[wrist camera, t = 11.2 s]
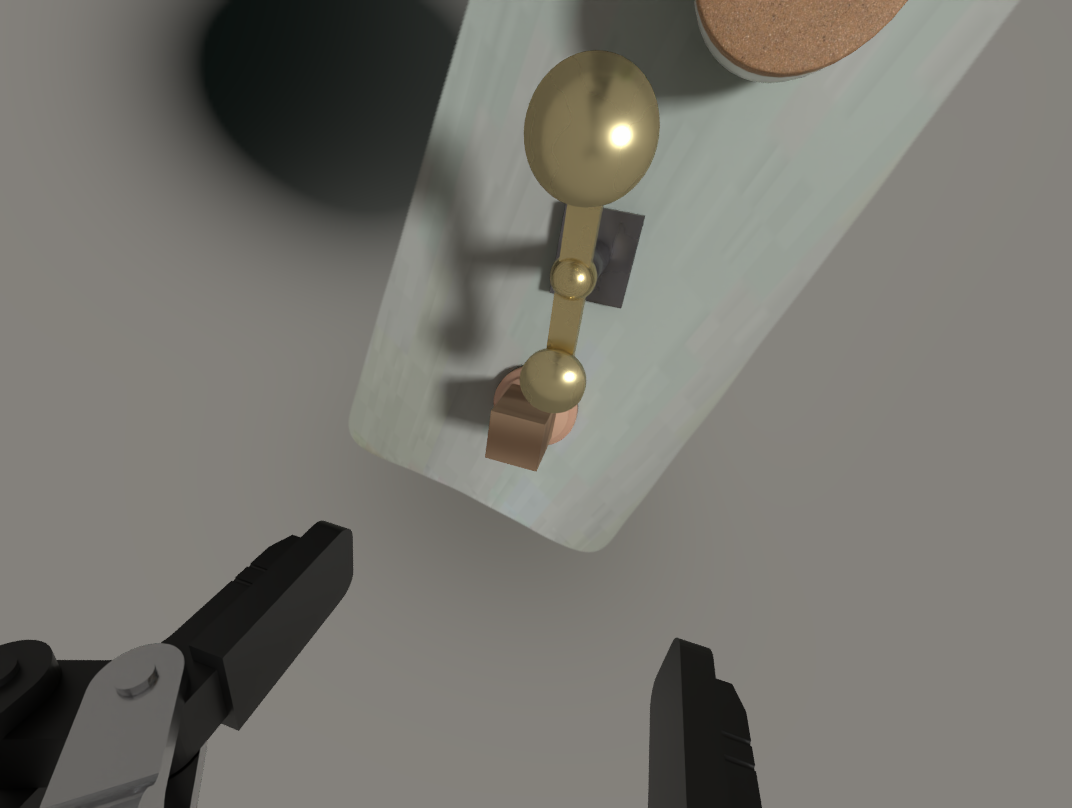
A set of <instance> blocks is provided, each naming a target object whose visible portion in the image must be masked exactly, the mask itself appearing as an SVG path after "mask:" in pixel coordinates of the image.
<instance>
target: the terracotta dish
mask: <svg viewBox="0 0 1072 808" xmlns="http://www.w3.org/2000/svg"><path fill="white" fill-rule="evenodd" d="M522 367H523V366H522ZM522 367H519V368H516V369H514V370H513V371H511V372H510V373H508V374H507V375H506V376H505V377H504V379H503V380H502V381H501V382H500V384H499V385H498V387H497V389H496V392H495V395H494V406H495V405H496V404H497V402H498V401H499V400H500V399H501V397H502V396H503V395H504V393H505V392H506V391H507V390H508V388H509V387H510V386H511V384H512V383H513V384H517V385H520V373H521V370H522ZM577 413H578V404H577V405H576V406H575V407H573V408H572V409H570V410H568V411H566V412H562V413H556V417H555V422H554V427H553V432H552V437H551V440H550V442H549V444H548V445H550V444H554V443H556V442H558V441H560V440H562V439H563V438H564V437H565V436H566V435H567V434H568V433H569V432H570V431H571V429H572V427H573V425H574V423H575V420H576V417H577Z"/></svg>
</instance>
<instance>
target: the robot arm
mask: <svg viewBox="0 0 1072 808" xmlns="http://www.w3.org/2000/svg"><path fill="white" fill-rule="evenodd" d="M352 577H353V536H352V531H351V530H350V529H347V528H344V527H341V526H338V525H335V524H332V523H329V522H326V521H319V522H317V523H316V524H314V525H313V526H312V527H311V528H310V529H309V530H308V531H307V532H306V533H305V534H304V535H303V536H302V537H297V536H294V535H291V536H289V537H287V538H286V539H284V540H281V541H279V542H277V543H275V544H273V545H272V546H270V547H268V548H267V549H266V550H265V551H264V552H263V553H262V554H261V555H259V556H258V557H257V558H256V559H255V560H254V561H253V562H252V563H251V565H250V566H249V567H246V568H245V569H244V570H243V571H242V572H241V573H240V574H238V575H237V576H236V578H235V580H234V581H231V582H230V583H228V584H227V585H226V586H225V587H224V588H223V589H222V590H221V591H220V592H219V593H217V595H215V596H214V597H213V598H212V599H211V600H210V601H209V602H207V603H206V604H205V606H203V607H202V608H201V609H200V610H199V611H198V612H196V613H195V614H194V615H193V616H192V617H191V618H190V619H189V620H188V621H186V622H185V623H184V624H183V625H182V626H181V627H180V628H179V629H178V630H177V631H175V633H173V634H172V635H171V636H170V637H168V638H167V639H166V640H164V641H163V642H161V643H155V644H148V645H144V646H140V647H137V648H134V649H132V650H130V651H128V652H125V653H123V654H122V655H120V656H118V657H117V658H115V659H114V660H105V661H104V660H102V661H101V660H56V658H55V656H54V654H53V652H52V650H51V648H50V646H49V645H47V644H46V643H44V642H42V641H37V640H21V641H16V642H11V643H7V644H4V645H0V808H197V804H198V798H199V792H200V786H201V780H202V774H203V767H204V762H205V755H206V750H207V740H208V739H209V737H210V736H211V735H212V734H213V733H214V731H215V730H216V729H217V727H218V726H219V725H220V724H224V725H227V726H229V727H231V728H234V729H236V730H238V731H239V730H240V728H241V727H242V726H243V724H244V723H245V722H246V721H247V720H248V718H249V717H250V716H251V714H252V713H253V712H254V711H255V709H256V708H257V707H258V705H259V704H260V703H261V702H262V700H263V699H264V698H265V696H266V695H267V694H268V693H269V691H270V690H271V689H272V688H273V686H274V685H275V684H276V683H277V681H278V680H279V679H280V677H281V676H282V675H283V674H284V672H285V671H286V670H287V669H288V667H289V666H290V665H291V663H292V662H293V661H294V659H295V658H296V657H297V656H298V654H299V653H300V652H301V651H302V649H303V648H304V647H305V646H306V644H307V643H308V642H309V640H310V639H311V638H312V637H313V635H314V634H315V633H316V632H317V630H318V629H319V628H320V626H321V625H322V624H323V623H324V621H325V620H326V619H327V617H328V616H329V615H330V614H331V612H332V611H333V610H334V609H335V607H336V606H337V605H338V603H339V602H340V601H341V600H342V598H343V597H344V595H345V594H346V592H347V590H348V588H349V586H350V583H351V580H352ZM750 742H751V738H750V733H749V726H748V720H747V714H746V711H745V709H744V707H743V705H742V703H741V701H740V699H739V697H738V695H737V693H736V691H735V689H734V687H733V685H732V684H730V683H728V682H725V681H722V680H719V679H716V677H715V668H714V659H713V654H712V651H711V650H710V649H709V648H706V647H704V646H701V645H698V644H695V643H691V642H688V641H685V640H682V639H679V638H675V639H674V640H673V642H672V644H671V646H670V649H669V651H668V653H667V655H666V657H665V659H664V661H663V663H662V666H661V668H660V670H659V672H658V674H657V677H656V679H655V682H654V686H653V690H652V695H651V704H650V745H649V793H648V794H649V795H648V808H762V806H761V799H760V793H759V788H758V781H757V775H756V771H754V766H755V763H754V757H753V751H752V747H751V746H750Z"/></svg>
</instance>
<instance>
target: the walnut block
mask: <svg viewBox="0 0 1072 808" xmlns="http://www.w3.org/2000/svg"><path fill="white" fill-rule="evenodd" d="M555 417H556V413H547V412H544V411H541V410H539V409H537V408H535V407H534V406H533V405H531V404H530V403H529V402H528V401H527V399H526V398H525V396H524V395H523V393H522V390H521V387H520V385H517V384H513V383H512V384H511V386H510V387H509V388H508V390H507V391H506V392H505V393H504V395H503V396H502V397H501V399H500V400H499V401H498V402H497V404H496V405H495V406H494V408H493V409H492V410H491V415H490V423H489V431H488V439H487V446H486V454H485V457H486V458H489V459H493V460H496V461H500V462H504V463H507V464H511V465H514V466H518V467H522V468H525V469H529V470H532V471H537V469H538V467H539V464H540V462H541V460H542V458H543V455H544V453H545V451H546V449H547V446H548V444H549V442H550V440H551V437H552V432H553V427H554V422H555Z"/></svg>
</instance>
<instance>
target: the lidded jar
mask: <svg viewBox="0 0 1072 808" xmlns="http://www.w3.org/2000/svg"><path fill="white" fill-rule="evenodd" d="M907 1H908V0H694V6H695V11H696V16H697V22H698V26H699V29H700V32H701V34H702V37H703V40H704V42H705V44H706V45H707V47H708V49H709V51H710V53H711V54H712V55H713V56H714V57H715V59H716V60H717V61H718V62H719V63H720V64H721V65H722V66H723V67H725V68H726V69H727V70H728V71H729V72H731V73H733V74H735V75H737V76H739V77H741V78H743V79H747V80H750V81H753V82H761V83H778V82H786V81H790V80H794V79H798V78H802V77H805V76H807V75H810V74H812V73H815V72H817V71H820V70H821V69H823V68H825V67H827V66H829V65H832V64H834V63H836V62H837V61H839V60H841V59H842V58H844V57H846V56H848V55H849V54H851V53H853V52H854V51H856V50H857V49H858V48H859V47H861V46H862V45H863V44H865V43H866V42H867V41H869V40H870V39H871V38H873V37H874V36H875V35H876V34H877V33H878V32H879V31H880V30H881V29H882V28H883V27H884V26H885V25H887V24H888V23H889V22H890V21H891V20H892V19H893V17H894V16H895V15H896V14H897V13H898V11H899V10H900V9H901V8H902V7H903V5H904V4H905V3H906V2H907Z"/></svg>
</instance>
